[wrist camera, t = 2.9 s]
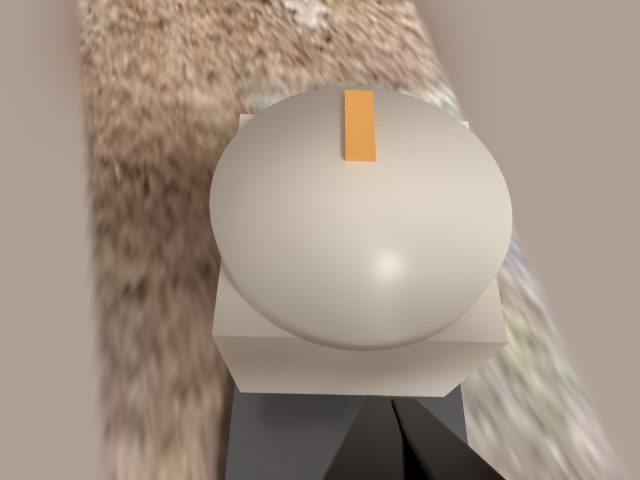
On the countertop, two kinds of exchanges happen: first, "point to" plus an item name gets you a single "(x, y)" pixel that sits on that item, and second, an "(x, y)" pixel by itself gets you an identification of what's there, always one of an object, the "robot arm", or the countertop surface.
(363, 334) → the knob
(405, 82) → the countertop surface
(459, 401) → the plate
